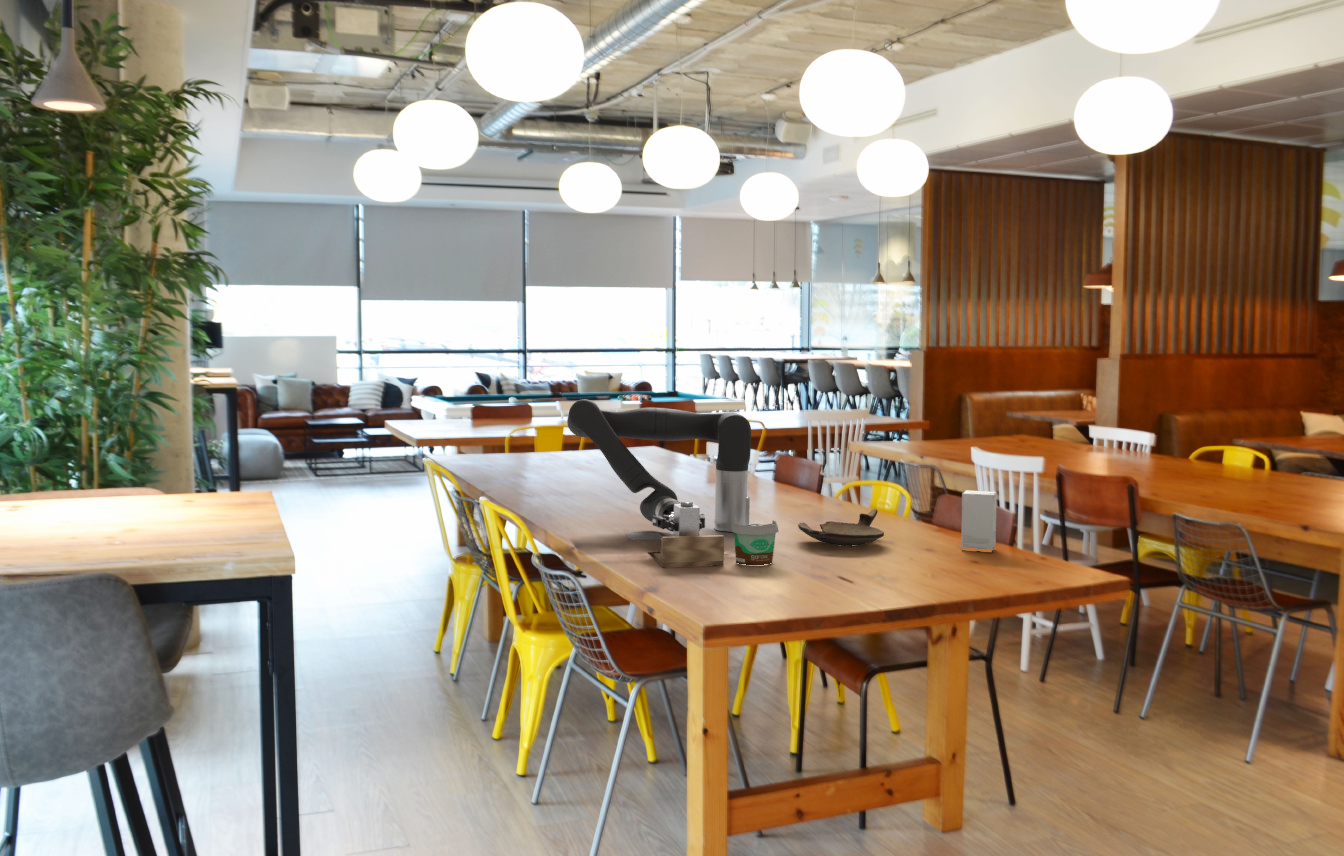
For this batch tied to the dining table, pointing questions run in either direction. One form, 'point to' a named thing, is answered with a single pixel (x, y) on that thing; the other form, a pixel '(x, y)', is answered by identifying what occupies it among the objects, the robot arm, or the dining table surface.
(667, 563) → the dock
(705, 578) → the dining table surface
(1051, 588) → the dining table surface
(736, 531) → the food container
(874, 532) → the oil lamp
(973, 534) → the skincare box
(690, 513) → the block
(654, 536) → the stand
